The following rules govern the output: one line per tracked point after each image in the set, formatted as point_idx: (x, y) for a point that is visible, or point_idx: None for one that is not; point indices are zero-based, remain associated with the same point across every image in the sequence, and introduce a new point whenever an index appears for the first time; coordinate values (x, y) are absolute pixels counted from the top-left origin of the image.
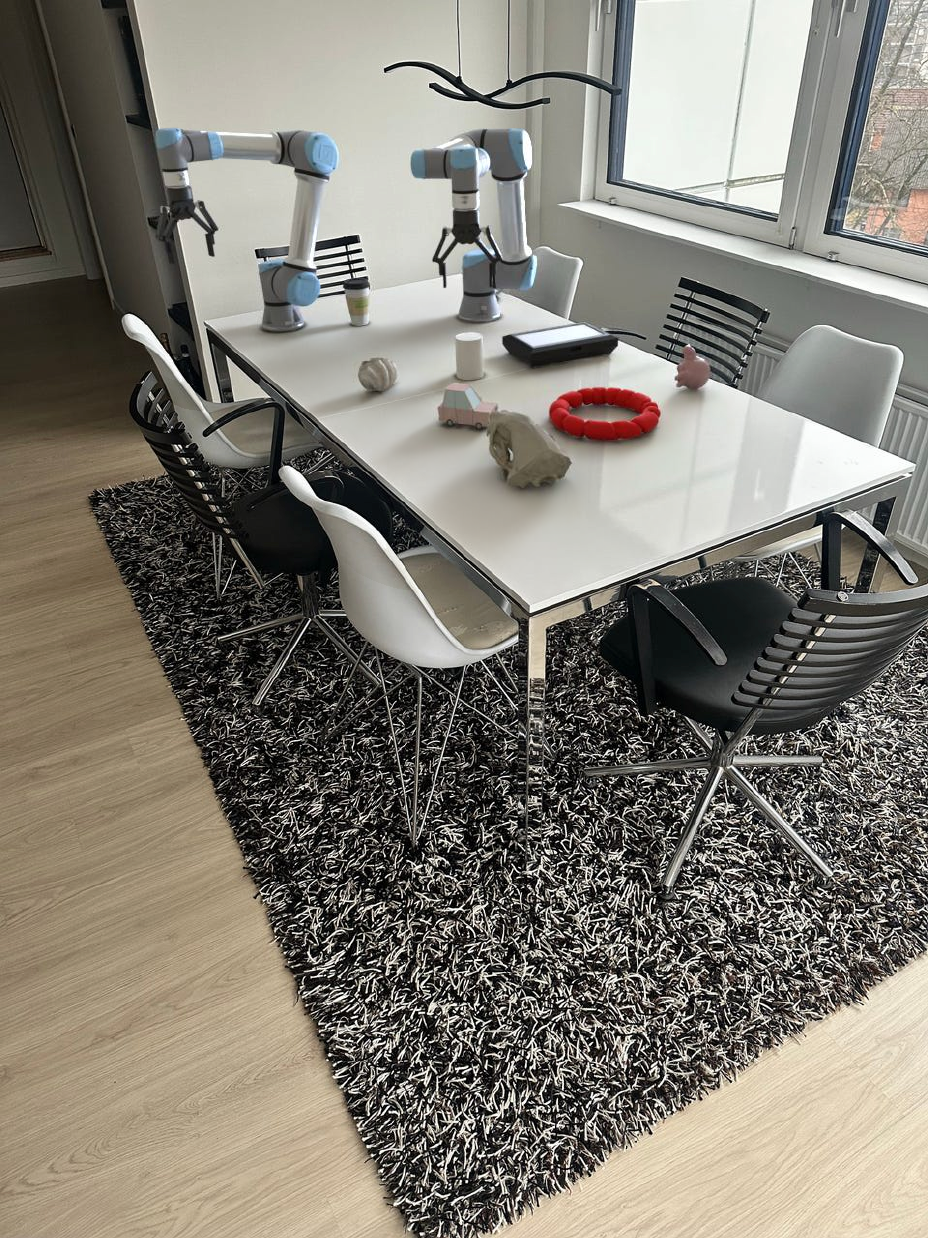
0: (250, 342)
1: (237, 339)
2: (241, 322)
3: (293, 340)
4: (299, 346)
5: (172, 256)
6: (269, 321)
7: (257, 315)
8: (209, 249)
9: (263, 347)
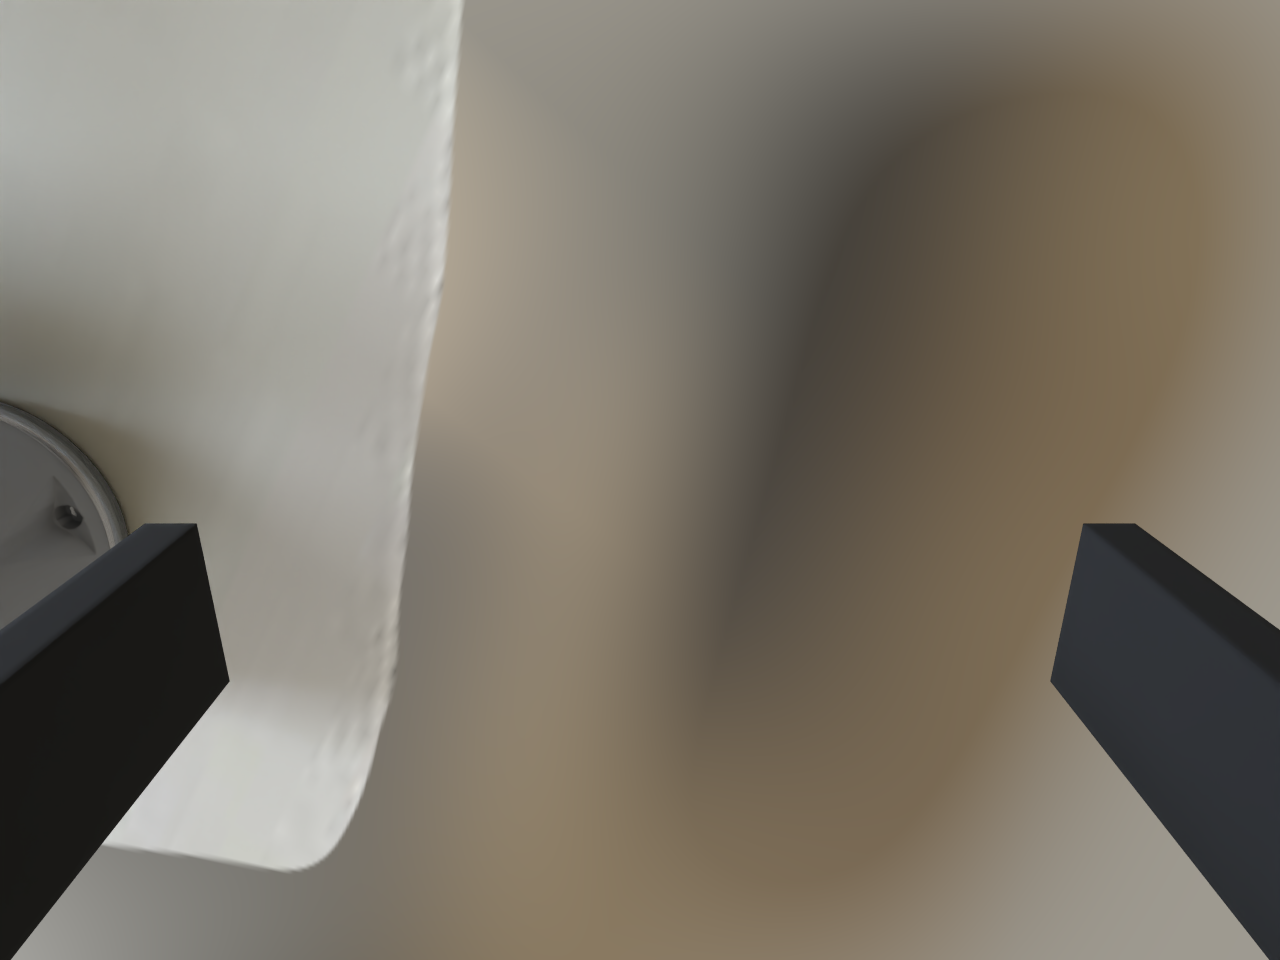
0: (301, 382)
1: (347, 497)
2: (200, 759)
3: (25, 197)
4: (30, 24)
5: (1217, 598)
6: (57, 532)
7: None
8: (142, 681)
9: (268, 214)
